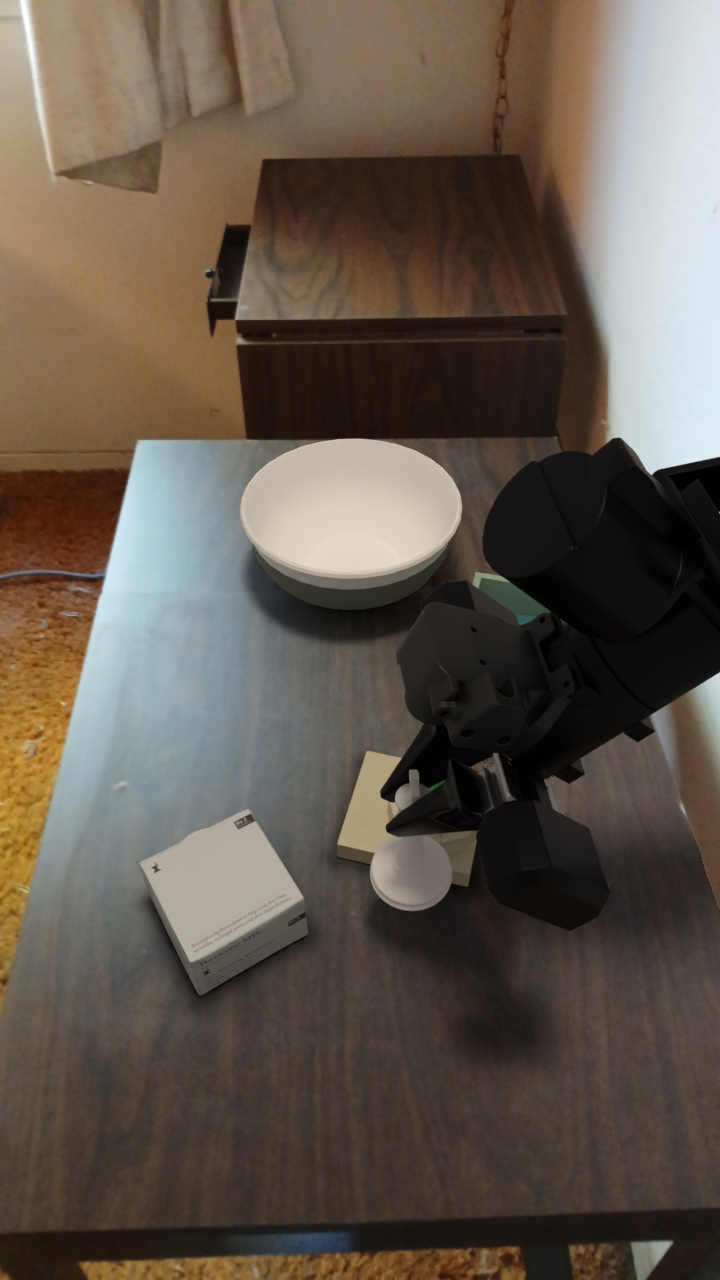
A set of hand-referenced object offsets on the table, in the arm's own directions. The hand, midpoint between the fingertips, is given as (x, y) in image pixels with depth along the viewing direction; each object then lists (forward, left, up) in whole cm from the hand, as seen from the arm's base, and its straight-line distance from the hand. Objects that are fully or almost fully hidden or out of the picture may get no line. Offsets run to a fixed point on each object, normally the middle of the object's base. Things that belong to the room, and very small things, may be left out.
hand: (388, 814), depth 49 cm
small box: (+10, +2, -12) cm, 16 cm away
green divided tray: (-4, -22, -12) cm, 26 cm away
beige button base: (0, -7, -12) cm, 14 cm away
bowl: (+11, -31, -12) cm, 35 cm away
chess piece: (-1, 0, -7) cm, 7 cm away
